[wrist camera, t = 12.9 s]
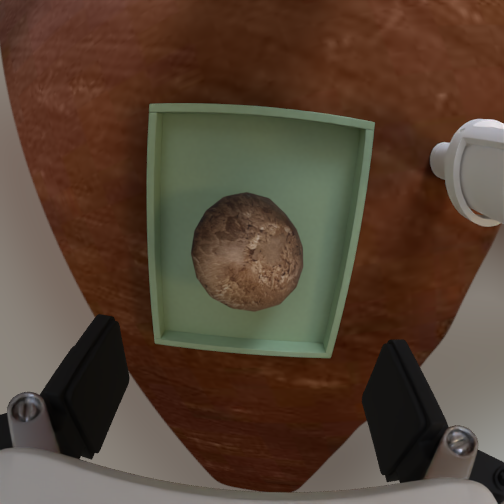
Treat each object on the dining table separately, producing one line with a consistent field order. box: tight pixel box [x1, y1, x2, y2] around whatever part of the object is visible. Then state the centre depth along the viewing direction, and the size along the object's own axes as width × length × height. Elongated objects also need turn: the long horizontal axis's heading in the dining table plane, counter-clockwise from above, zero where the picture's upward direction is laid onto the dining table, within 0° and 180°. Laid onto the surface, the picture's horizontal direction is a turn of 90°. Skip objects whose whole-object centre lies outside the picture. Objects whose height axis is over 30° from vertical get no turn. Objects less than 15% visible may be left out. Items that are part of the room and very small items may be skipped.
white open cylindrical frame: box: [430, 119, 504, 227], centre depth 15 cm, size 7×7×15 cm
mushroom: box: [191, 192, 303, 312], centre depth 22 cm, size 8×8×6 cm
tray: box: [147, 103, 375, 358], centre depth 24 cm, size 19×15×2 cm
